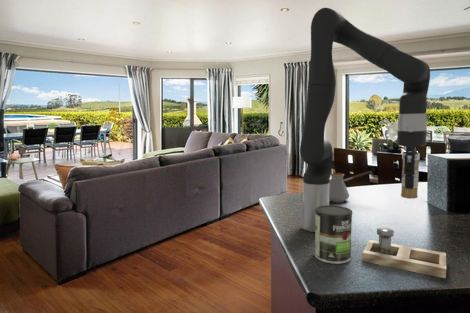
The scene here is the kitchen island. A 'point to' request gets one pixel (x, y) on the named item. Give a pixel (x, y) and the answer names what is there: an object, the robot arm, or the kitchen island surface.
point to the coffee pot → (340, 187)
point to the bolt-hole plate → (407, 259)
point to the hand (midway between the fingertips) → (409, 186)
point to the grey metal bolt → (385, 240)
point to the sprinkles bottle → (413, 192)
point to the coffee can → (333, 234)
